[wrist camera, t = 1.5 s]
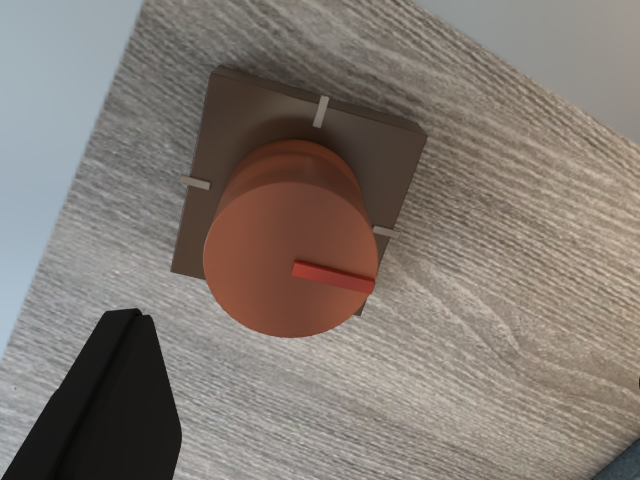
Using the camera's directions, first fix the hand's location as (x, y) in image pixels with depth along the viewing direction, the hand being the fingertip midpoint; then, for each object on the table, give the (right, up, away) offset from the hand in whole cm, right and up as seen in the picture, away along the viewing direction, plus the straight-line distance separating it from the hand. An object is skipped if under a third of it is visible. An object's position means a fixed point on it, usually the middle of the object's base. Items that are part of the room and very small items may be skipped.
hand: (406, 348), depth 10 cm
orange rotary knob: (-3, +4, +16) cm, 17 cm away
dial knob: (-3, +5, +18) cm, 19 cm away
